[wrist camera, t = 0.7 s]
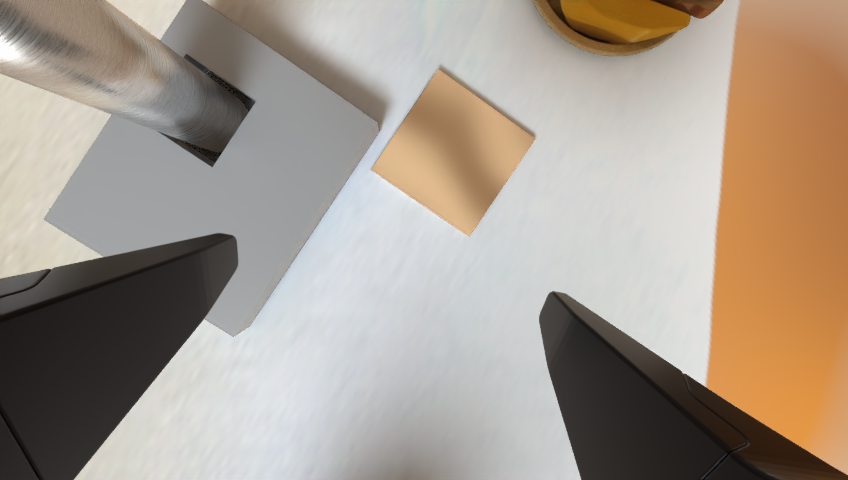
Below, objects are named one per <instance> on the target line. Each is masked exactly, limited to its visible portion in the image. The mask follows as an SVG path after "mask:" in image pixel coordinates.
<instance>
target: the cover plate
mask: <svg viewBox="0 0 848 480" xmlns="http://www.w3.org/2000/svg"><path fill="white" fill-rule="evenodd" d="M160 41H161V42H163V43H164V44H166V45H167V46H168V47H170V48H171V49H172V50H174V51H175V52H176V53H178V54H179V55H180V56H182V57H183V58H185V59H186V60H187V61H189V62H190V63H191V64H193V65H194V66H195V67H197V68H198V69H199V70H201V71H202V72H203V73H205V72H206V71H207V70H209V71H210V72H212V73H213V74H214V75H216V76H217V77H219V78H220V79H222V80H223V81H225V82H226V83H228V84H229V85H231V86H232V87H234V88H235V89H237V90H238V91H240V92H241V93H242V94H244V95H245V96H247V97H248V98H250V99H251V100H253V101H254V102H255V104H254V105H253V107H252V108H251V110H250V111H249V113H248V114H247V116H246V117H245V119H244V120H243V122H242V123H241V125H240V126H239V128H238V129H237V131H236V132H235V134H234V135H233V137H232V138H231V140H230V141H229V143H228V145H227V146H226V148H225V149H224V151H223V152H222V154H221V155H220V157H219V158H218V160H217V161H216V163H215V162H213V161H212V160H210V159H209V158H207V157H206V156H204V155H203V154H201V153H200V152H198V151H197V150H195V149H194V148H192V147H191V146H189V145H188V144H186V143H185V142H183V141H182V140H180V139H177V138H174V137H172V136H169V135H166V134H163V133H161V132H158V131H155V130H153V129H150V128H147V127H144V126H142V125H139V124H136V123H134V122H131V121H128V120H125V119H123V118H120V117H117V116H115V115H111V117H110V118H109V120H108V121H107V123H106V124H105V126H104V127H103V129H102V130H101V132H100V133H99V135H98V137H97V138H96V140H95V141H94V143H93V144H92V146H91V147H90V149H89V150H88V152H87V153H86V155H85V156H84V158H83V160H82V161H81V163H80V164H79V166H78V167H77V169H76V170H75V172H74V173H73V175H72V176H71V178H70V179H69V181H68V183H67V184H66V186H65V187H64V189H63V190H62V192H61V193H60V195H59V196H58V198H57V199H56V201H55V202H54V204H53V206H52V207H51V209H50V210H49V212H48V213H47V215H46V216H45V218H44V220H45V221H47V222H48V223H50V224H52V225H53V226H55V227H57V228H58V229H60V230H61V231H63V232H65V233H66V234H68V235H69V236H71V237H73V238H74V239H76V240H78V241H79V242H81V243H82V244H84V245H86V246H87V247H89V248H90V249H92V250H94V251H95V252H97V253H99V254H100V255H102V256H103V257H107V256H112V255H116V254H121V253H126V252H130V251H135V250H140V249H145V248H149V247H154V246H159V245H163V244H168V243H173V242H178V241H182V240H187V239H192V238H196V237H201V236H206V235H211V234H215V233H224V234H230V235H233V236H235V237H236V239H237V247H238V267H237V270H236V271H235V273H234V274H233V276H232V278H231V279H230V281H229V282H228V284H227V285H226V287H225V289H224V290H223V292H222V293H221V295H220V296H219V298H218V299H217V301H216V303H215V304H214V306H213V307H212V309H211V310H210V312H209V313H208V314H207V316H206V317H205V318H204V319H205V320H207V321H208V322H210V323H212V324H213V325H215V326H216V327H218V328H220V329H221V330H223V331H225V332H226V333H228V334H229V335H231V336H233V337H234V336H236V335H237V334H239V333H240V332H242V331H243V330H245V329H246V328H248V327H249V326H250V325H251V323H252V322H253V320H254V319H255V317H256V316H257V314H258V313H259V311H260V310H261V308H262V307H263V305H264V304H265V302H266V301H267V299H268V298H269V296H270V295H271V293H272V292H273V290H274V289H275V287H276V286H277V284H278V283H279V281H280V280H281V278H282V277H283V275H284V274H285V272H286V271H287V269H288V268H289V266H290V265H291V263H292V262H293V260H294V259H295V257H296V256H297V254H298V253H299V251H300V250H301V248H302V247H303V245H304V244H305V242H306V241H307V239H308V238H309V236H310V235H311V233H312V232H313V230H314V229H315V227H316V226H317V224H318V223H319V221H320V220H321V218H322V217H323V215H324V214H325V212H326V211H327V209H328V208H329V206H330V205H331V203H332V202H333V201H334V199H335V198H336V196H337V195H338V193H339V192H340V190H341V189H342V187H343V186H344V184H345V183H346V181H347V180H348V178H349V177H350V175H351V174H352V172H353V171H354V169H355V168H356V166H357V165H358V163H359V162H360V160H361V159H362V157H363V156H364V154H365V153H366V151H367V150H368V148H369V147H370V145H371V144H372V142H373V141H374V139H375V138H376V136H377V135H378V133H379V132H380V130H379V127H378V124H377V122H376V121H375V120H374V119H372V118H371V117H369V116H368V115H366V114H365V113H363V112H362V111H361V110H359V109H358V108H356V107H355V106H353V105H352V104H350V103H349V102H348V101H346V100H345V99H343V98H342V97H340V96H339V95H338V94H336V93H335V92H333V91H332V90H330V89H329V88H327V87H326V86H325V85H323V84H322V83H320V82H319V81H317V80H316V79H314V78H313V77H312V76H310V75H309V74H307V73H306V72H304V71H303V70H302V69H300V68H299V67H297V66H296V65H294V64H293V63H291V62H290V61H289V60H287V59H286V58H284V57H283V56H281V55H280V54H278V53H277V52H276V51H274V50H273V49H271V48H270V47H268V46H267V45H265V44H264V43H263V42H261V41H260V40H258V39H257V38H255V37H254V36H253V35H251V34H250V33H248V32H247V31H245V30H244V29H242V28H241V27H240V26H238V25H237V24H235V23H234V22H232V21H231V20H229V19H228V18H227V17H225V16H224V15H222V14H221V13H219V12H218V11H217V10H215V9H214V8H212V7H211V6H209V5H208V4H206V3H205V2H204V1H202V0H186V2H185V3H184V5H183V6H182V8H181V9H180V11H179V12H178V14H177V15H176V17H175V19H174V20H173V22H172V23H171V25H170V26H169V28H168V29H167V31H166V32H165V34H164V35H163V37H162V38H161V40H160Z"/></svg>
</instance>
